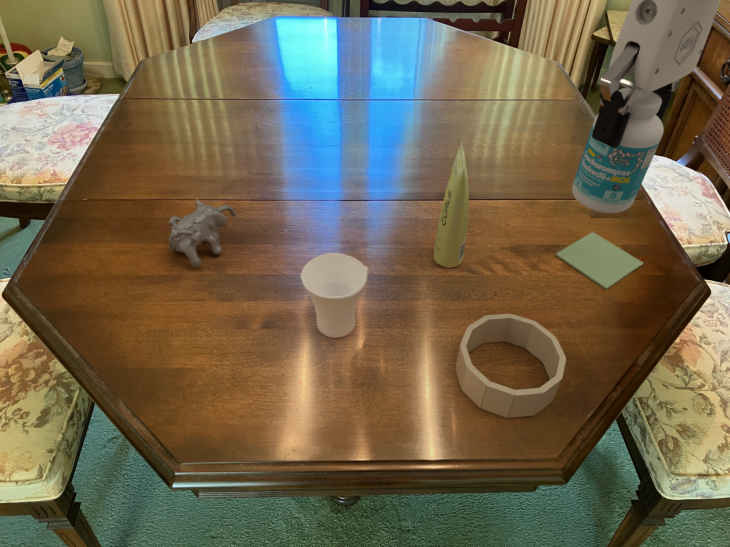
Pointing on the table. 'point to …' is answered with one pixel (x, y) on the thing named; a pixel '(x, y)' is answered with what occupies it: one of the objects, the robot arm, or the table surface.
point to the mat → (599, 260)
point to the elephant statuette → (198, 230)
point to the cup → (334, 291)
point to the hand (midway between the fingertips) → (626, 130)
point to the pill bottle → (620, 159)
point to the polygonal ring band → (521, 335)
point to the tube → (453, 216)
